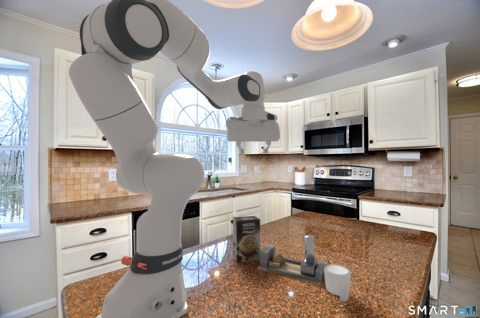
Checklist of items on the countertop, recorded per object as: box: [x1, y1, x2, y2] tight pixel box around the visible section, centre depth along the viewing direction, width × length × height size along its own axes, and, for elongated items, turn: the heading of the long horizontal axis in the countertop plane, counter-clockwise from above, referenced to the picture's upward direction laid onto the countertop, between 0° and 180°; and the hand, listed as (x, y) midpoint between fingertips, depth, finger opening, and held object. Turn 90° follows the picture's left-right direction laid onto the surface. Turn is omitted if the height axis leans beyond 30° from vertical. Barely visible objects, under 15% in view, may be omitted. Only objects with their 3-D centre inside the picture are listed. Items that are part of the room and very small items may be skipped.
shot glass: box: [324, 263, 352, 302], centre depth 61 cm, size 7×7×7 cm
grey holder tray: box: [256, 243, 326, 286], centre depth 73 cm, size 11×20×6 cm, turn 60°
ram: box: [300, 234, 319, 277], centre depth 70 cm, size 7×4×12 cm, turn 150°
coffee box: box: [232, 215, 261, 263], centre depth 81 cm, size 9×6×16 cm
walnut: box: [272, 252, 284, 266], centre depth 75 cm, size 4×4×4 cm
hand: (253, 153), depth 83 cm, fingers open, 8 cm apart
